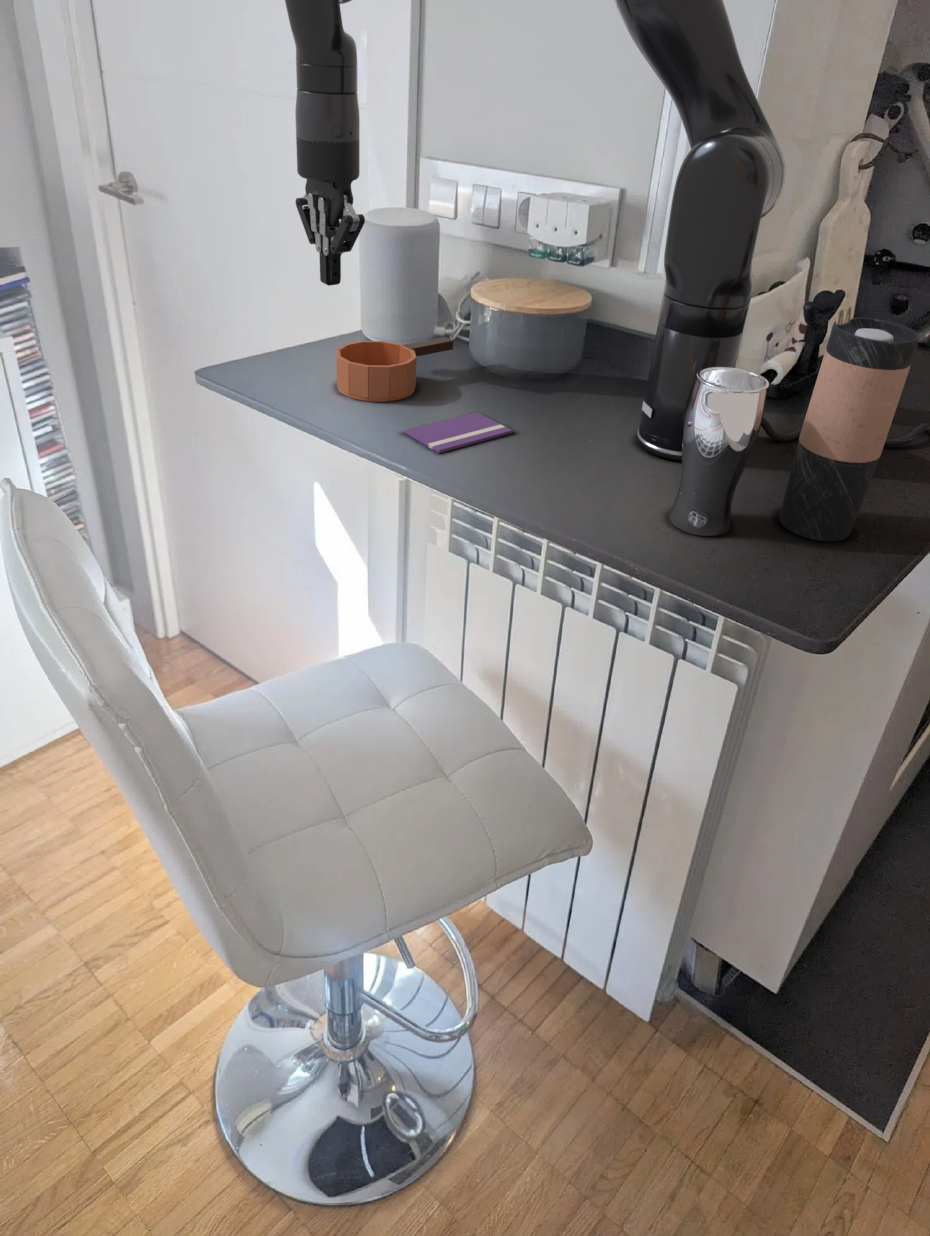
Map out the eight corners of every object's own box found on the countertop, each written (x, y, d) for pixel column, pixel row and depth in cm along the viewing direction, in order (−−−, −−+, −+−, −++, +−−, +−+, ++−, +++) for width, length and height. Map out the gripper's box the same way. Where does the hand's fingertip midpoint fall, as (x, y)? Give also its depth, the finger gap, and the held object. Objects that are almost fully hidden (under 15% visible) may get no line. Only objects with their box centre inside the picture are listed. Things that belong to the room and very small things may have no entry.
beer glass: (682, 499, 96) (712, 360, 88) (744, 521, 93) (782, 378, 84) (652, 523, 91) (682, 377, 83) (717, 546, 88) (755, 398, 80)
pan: (425, 361, 127) (426, 328, 125) (470, 383, 121) (473, 349, 118) (322, 382, 118) (321, 347, 115) (365, 407, 112) (365, 370, 109)
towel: (477, 415, 112) (477, 412, 112) (512, 433, 108) (512, 430, 108) (405, 433, 106) (405, 430, 106) (439, 453, 102) (439, 450, 102)
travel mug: (858, 548, 90) (930, 347, 78) (779, 536, 91) (838, 336, 79) (847, 513, 96) (912, 322, 84) (773, 502, 97) (827, 312, 86)
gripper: (385, 141, 106) (383, 293, 116) (325, 125, 115) (328, 268, 124) (330, 143, 102) (333, 300, 112) (272, 126, 110) (279, 274, 120)
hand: (330, 283), depth 118 cm, fingers closed
